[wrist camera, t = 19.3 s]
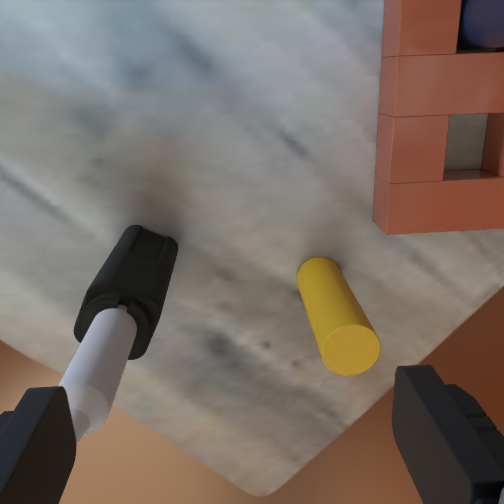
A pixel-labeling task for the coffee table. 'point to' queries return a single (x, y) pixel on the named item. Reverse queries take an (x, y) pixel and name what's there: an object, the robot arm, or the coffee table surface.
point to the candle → (117, 322)
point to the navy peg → (481, 24)
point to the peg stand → (435, 124)
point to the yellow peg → (337, 318)
